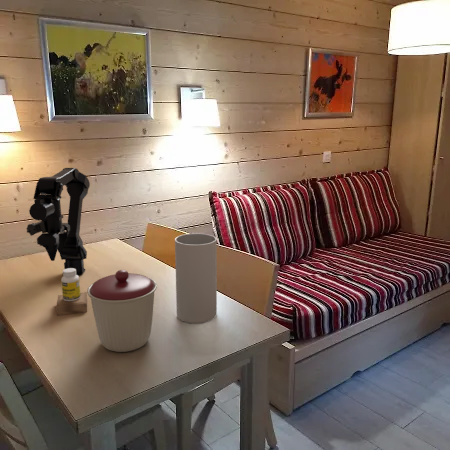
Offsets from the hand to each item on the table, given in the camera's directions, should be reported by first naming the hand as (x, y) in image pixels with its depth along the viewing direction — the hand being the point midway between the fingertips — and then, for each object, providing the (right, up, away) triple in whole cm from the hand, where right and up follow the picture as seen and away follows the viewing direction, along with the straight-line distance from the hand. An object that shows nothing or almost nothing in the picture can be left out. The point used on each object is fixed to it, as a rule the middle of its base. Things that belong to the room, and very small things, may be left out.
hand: (56, 256), depth 152 cm
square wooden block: (+10, -16, -13) cm, 23 cm away
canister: (+33, -21, -34) cm, 52 cm away
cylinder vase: (+51, -17, -18) cm, 57 cm away
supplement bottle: (+10, -13, -13) cm, 21 cm away
